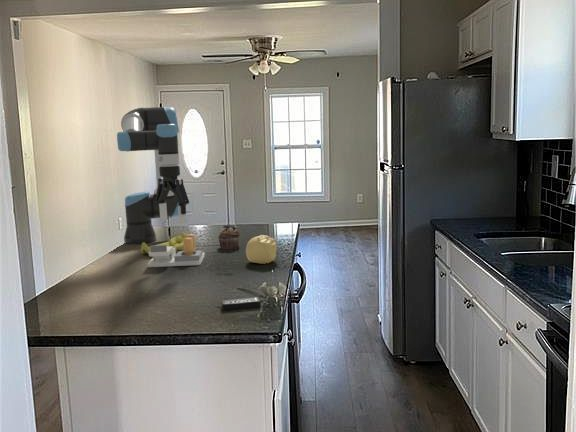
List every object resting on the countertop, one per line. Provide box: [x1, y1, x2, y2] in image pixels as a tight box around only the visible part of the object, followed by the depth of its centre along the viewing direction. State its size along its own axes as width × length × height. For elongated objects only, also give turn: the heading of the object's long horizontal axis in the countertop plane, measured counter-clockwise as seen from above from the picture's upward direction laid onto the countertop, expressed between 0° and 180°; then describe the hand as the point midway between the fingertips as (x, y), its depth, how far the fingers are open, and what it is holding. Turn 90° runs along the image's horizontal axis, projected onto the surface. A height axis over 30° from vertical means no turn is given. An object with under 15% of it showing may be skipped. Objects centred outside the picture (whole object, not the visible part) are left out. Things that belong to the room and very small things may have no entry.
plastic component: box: [140, 232, 187, 258], centre depth 241 cm, size 20×7×10 cm
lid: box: [148, 244, 173, 257], centre depth 217 cm, size 10×7×4 cm
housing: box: [147, 233, 206, 268], centre depth 222 cm, size 16×20×10 cm
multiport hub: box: [220, 296, 262, 312], centre depth 160 cm, size 4×11×2 cm, turn 100°
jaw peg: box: [183, 238, 193, 255], centre depth 220 cm, size 4×4×8 cm
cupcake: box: [217, 224, 241, 250], centre depth 246 cm, size 10×10×10 cm
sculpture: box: [245, 234, 278, 265], centre depth 215 cm, size 12×12×11 cm
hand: (173, 221), depth 213 cm, fingers open, 13 cm apart
